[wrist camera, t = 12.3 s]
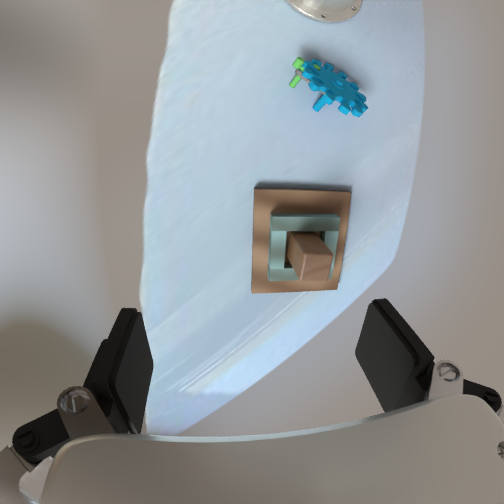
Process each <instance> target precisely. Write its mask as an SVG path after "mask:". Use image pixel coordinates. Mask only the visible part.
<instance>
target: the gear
mask: <svg viewBox="0 0 504 504" xmlns="http://www.w3.org/2000/svg"><path fill="white" fill-rule="evenodd" d="M303 63H304V64H303ZM321 64H322V63H321V62H320V61H319V60H316V59H313V60H312V61H311V62H310V61H305V60H304V59H303V58H301V57H297V59H296V60H295V62H294V63H293V66H294V67H295V68H297V69H296V71H295V73H296V74H297V75H296V77H295V78H294V79H293V81H292V82H291V83H290V87H292V88H294V87H295V86H296V84H297V83H298V82H299V80H300V79H301V78H302V79H303V80H305V81H306V82H308V83H309V84H308V85H309V87H310V88H311V90H313V91H320V92H321V93H323V95H322V97H321V98H320V99H319V100H318V101H317V102H316V103H315V105H314V106H313V109H314V110H315V111H317V112H318V111H319V110H320V109H321V108H322V107H323V106H324V105H325V104H326V103H327V104H328V105H331V104H332V103H333V102H334V100H336V101H339V102H340V103H341V105H340V106H339V107H338V109H339V111H341V112H342V113H344V114H345V115H347V114H348V113H349V112H350V111H351V113H352V114H353V115H354V116H356V117H360V116H361V115H362V114H363V112H365V111H366V110H367V109H368V107H367V105H366V104H364V102H365V101H366V97H365V96H364V95H363V94H360V93H359V92H357V91H358V90H359V87H358V86H357V84H356V83H354V82H348V81H346V80H345V79H346V78H347V77H348V76H347V75H346V74H345V73H344V72H342V71H340V72H339V73H338V74H337V73H334V72H332V70H333V69H334V67H333V66H332V65H331V64H329V63H326V64H325V65H324V66H323V68H322V67H321ZM350 107H351V108H352V110H351V108H350Z"/></svg>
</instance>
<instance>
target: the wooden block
mask: <svg viewBox="0 0 504 504" xmlns="http://www.w3.org/2000/svg"><path fill="white" fill-rule="evenodd" d="M333 256H334V255H333V253H332V252H331V250H330V249H329V248H328V247H327V246H326V245H325V243H324V242H323V241H322V240H321V239H320V238H319V236H318V235H317V234H316V233H314V232H302V231H291V232H290V235H289V241H288V248H287V257H288V259H289V261H290V263H291V265H292V267H293V269H294V271H295V273H296V275H297V277H298V279H299V280H300V281H320V282H326V281H328V278H329V274H330V270H331V265H332V261H333Z"/></svg>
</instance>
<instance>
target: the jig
mask: <svg viewBox="0 0 504 504" xmlns="http://www.w3.org/2000/svg"><path fill="white" fill-rule="evenodd" d="M350 200H351V192H349V191H337V190H316V189H286V188H254V208H253V245H252V282H251V291H252V293H279V292H302V291H321V290H337V287H338V281H339V276H340V270H341V264H342V258H343V252H344V245H345V239H346V232H347V224H348V217H349V208H350ZM291 231H302V232H314V233H316V234H317V235H318V236H319V238H320V239H321V240H322V241H323V242H324V243H325V245H326V246H327V247H328V248H329V249H330V250H331V252H332V253H333V255H334V256H333V261H332V265H331V270H330V274H329V278H328V281H326V282H320V281H300V280H299V279H298V277H297V275H296V273H295V271H294V269H293V267H292V265H291V263H290V261H289V259H288V257H287V248H288V241H289V235H290V232H291Z"/></svg>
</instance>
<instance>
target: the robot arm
mask: <svg viewBox="0 0 504 504" xmlns="http://www.w3.org/2000/svg"><path fill="white" fill-rule="evenodd" d="M286 2H287V3H288V4H289V5H290V6H291V7H292V8H293V9H295V10H296V11H297V12H299V13H300V14H302V15H304V16H306V17H308V18H311V19H313V20H316V21H321V22H326V23H338V22H343V21H346V20H348V19H350V18H352V17H353V16H354V15H356V14H357V12H358V11H359V9H360V7H361V3H362V0H286ZM323 17H324V18H323ZM355 355H356V358H357V360H358V362H359V364H360V366H361V367H362V369H363V371H364V373H365V375H366V377H367V379H368V381H369V383H370V385H371V387H372V388H373V390H374V392H375V394H376V396H377V398H378V400H379V402H380V404H381V406H382V408H383V410H384V411H385V413H382V414H378V415H374V416H370V417H366V418H362V419H358V420H354V421H349V422H344V423H340V424H334V425H330V426H323V427H318V428H312V429H306V430H298V431H290V432H283V433H273V434H262V435H248V436H231V437H230V436H228V437H181V436H180V437H179V436H158V435H142V434H140V433H141V429H142V423H143V417H144V412H145V406H146V401H147V396H148V391H149V386H150V381H151V377H152V372H153V359H152V355H151V351H150V347H149V343H148V339H147V335H146V331H145V326H144V322H143V318H142V314H141V312H137V310H136V308H122V309H121V311H120V313H119V315H118V317H117V319H116V321H115V323H114V326H113V328H112V330H111V332H110V334H109V337H108V339H104V340H103V341H102V343H101V345H100V347H99V349H98V352H97V354H96V356H95V358H94V361H93V363H92V366H91V368H90V370H89V373H88V375H87V378H86V380H85V382H84V385H83V387H82V386H72V387H68V388H67V389H65V390H63V392H62V393H60V395H59V397H58V399H57V409H55V410H53V411H51V412H49V413H48V414H45V415H43V416H41V417H39V418H37V419H35V420H33V421H31V422H29V423H27V424H25V425H23V426H21V427H19V428H18V429H17V430H16V432H15V433H14V435H13V441H12V443H13V445H12V446H11V447H10V448H9V447H8V446H6V447H5V448H4V449H3V450H2V451H1V452H0V504H504V403H503V405H502V402H501V398H500V395H499V394H498V393H497V392H496V391H495V390H494V389H491V388H489V387H486V386H483V385H480V384H477V383H474V382H471V381H468V380H465V379H463V372H462V370H461V368H460V367H459V366H458V365H457V364H456V363H454V362H452V361H449V360H440V361H438V362H437V363H436V364H435V363H434V362H433V360H434V356H433V355H432V353H431V352H430V351H429V350H428V348H427V347H426V346H425V345H424V343H423V342H422V341H421V339H420V338H419V337H418V336H417V335H416V333H415V332H414V331H413V330H412V329H411V327H410V326H409V325H408V323H407V322H406V321H405V320H404V319H403V317H402V316H401V315H400V314H399V313H398V311H397V310H396V309H395V308H394V307H393V306H392V304H391V303H390V302H389V301H388V300H387V299H385V298H384V299H375V300H373V301H372V303H370V304H369V306H368V309H367V313H366V317H365V320H364V324H363V327H362V330H361V334H360V337H359V340H358V344H357V347H356V350H355Z"/></svg>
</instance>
